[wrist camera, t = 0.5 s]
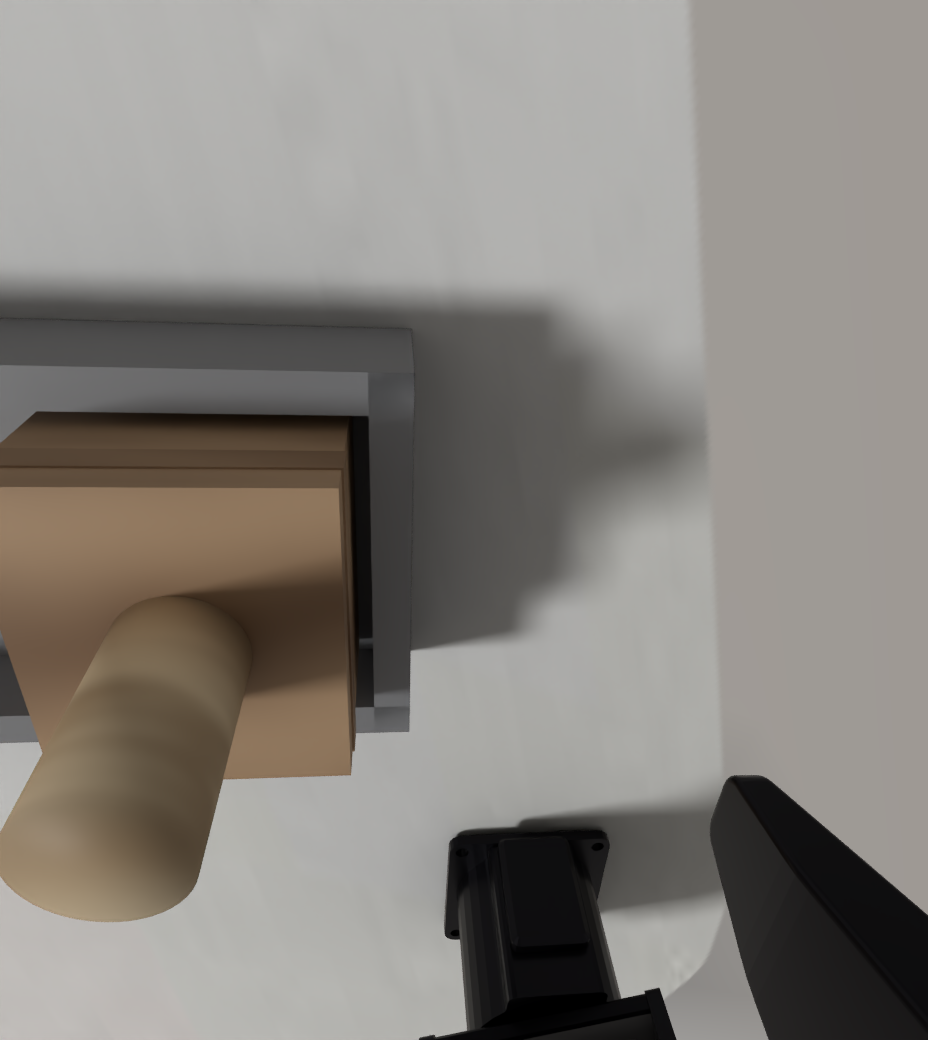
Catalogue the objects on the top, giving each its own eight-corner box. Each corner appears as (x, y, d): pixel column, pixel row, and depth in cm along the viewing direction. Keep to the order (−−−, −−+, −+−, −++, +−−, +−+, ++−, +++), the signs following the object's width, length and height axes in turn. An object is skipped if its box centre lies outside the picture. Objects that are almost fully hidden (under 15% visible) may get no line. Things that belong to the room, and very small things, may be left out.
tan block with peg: (361, 644, 22) (339, 991, 14) (120, 648, 22) (-62, 1016, 13) (353, 394, 18) (316, 661, 10) (56, 388, 17) (-271, 672, 9)
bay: (407, 652, 24) (409, 731, 21) (-248, 663, 22) (-349, 752, 19) (411, 328, 19) (414, 372, 16) (-456, 306, 17) (-642, 352, 14)
